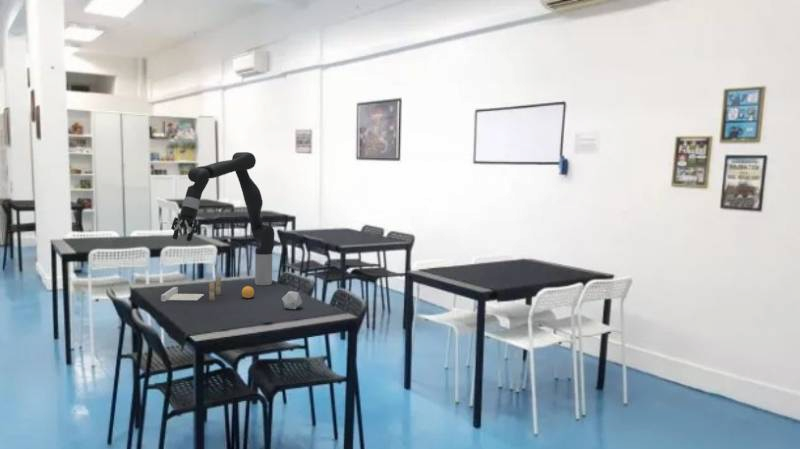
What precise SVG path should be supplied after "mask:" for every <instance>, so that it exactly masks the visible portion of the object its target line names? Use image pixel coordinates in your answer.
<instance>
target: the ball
mask: <svg viewBox="0 0 800 449" xmlns="http://www.w3.org/2000/svg"><path fill="white" fill-rule="evenodd" d="M254 294H255V289H254V288H253V287H252V286H249V285H246V286H244V287H243V288H242V290H241V295H242V297H244V298H245V299H250V298H252V297H253V296H254Z"/></svg>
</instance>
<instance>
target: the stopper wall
mask: <svg viewBox="0 0 800 449" xmlns="http://www.w3.org/2000/svg"><path fill="white" fill-rule="evenodd" d="M175 294H179V287H178V286H173V287H171V288H170V289H169V290H167V291H165V292H164V293H162V294H161V295H160V302H167V301H169V300H168V299H169V298H171V297H172V296H173V295H175Z"/></svg>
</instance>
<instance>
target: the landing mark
mask: <svg viewBox="0 0 800 449" xmlns="http://www.w3.org/2000/svg"><path fill="white" fill-rule="evenodd" d="M203 296H205V294H204V293H177V294H175V295H173V296H172V297H171V298H169V299H168V300H167V301H198V300H199V299H201V298H202V297H203Z"/></svg>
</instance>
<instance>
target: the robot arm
mask: <svg viewBox="0 0 800 449" xmlns="http://www.w3.org/2000/svg"><path fill="white" fill-rule="evenodd" d="M231 158H232V159H227V160H222V161H217V162H214V163H210V164H207V165H202V166H201V165H200V166H196V167H193V168H191V169H190V170H189V171H188V173H187V177H188V180H190V182H192V183H193V184H191V185H189V186H187V190H186V193H185V196H184V198H183V201H182V205H181V209H180V213H179V215H180V216H179V217H174V218H173V220H172V221H173V222H172V224H171V227H170V228H171V230H173V234H172V239H173V240H178V237H179V233H180V231H181V230H183V229H187V231H188V232H187V237H186V241H187V242H191V241H192V240H193V236H194V234H198V232H199V231H198V230H199V226H200V221H199V220H198V219H197V215H198V212H199V207H200V204H201V198H202V195H203V192H204V190H205V189H206V187H207V185H208V183H209V181H210V179H215V178H218V177H221V176H225V175H228V174H230V173H233V172H235V175H236V177H237V179H238V182H239V185H240V188H241V192H242V196H243V200H244V203H245V207H246V210H247V213H248V217H249V223H250V229H251V235H252V237H253V240H256V241H258V242H260V246H258V247H257V248H255V251H254V252H255V253H254V254H255V255H254V258H255V260H254V261H255V262H254V269H255V270H254V271H255V273H254V279H255V280H254V284H255V286H270V285H271V286H272V284H273V250H274V246H275V229H274V228H273V226H271V225H269V224H263V220H262V218H261V213H262V212H261V211H262V208H263V198H262V194H261V193H262V192H261V190H260V189H259V187H258V186H257V184H256V183H255V182H254V180H253V179H252V178H251V176H250V174H249V172H248V170H252V169H253V168H254V167H255V166H256V163H257V160H256V159H257V158H256V157H255V155H254V153H252V152H248V151H244V152H242V151H240V152H239V151H238V152H237V151H236V152H234V154H233V155H232V157H231Z"/></svg>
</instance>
